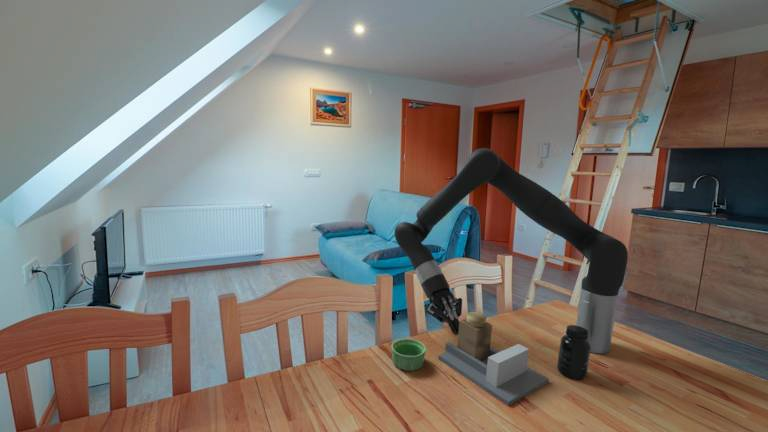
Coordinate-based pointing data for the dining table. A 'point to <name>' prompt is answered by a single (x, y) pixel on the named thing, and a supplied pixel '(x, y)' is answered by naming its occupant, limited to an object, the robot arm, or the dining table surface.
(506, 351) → the mount
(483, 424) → the dining table surface
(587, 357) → the supplement bottle
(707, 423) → the dining table surface
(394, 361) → the ramekin
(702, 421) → the dining table surface
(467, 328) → the brown bottle-shaped block
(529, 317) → the dining table surface
